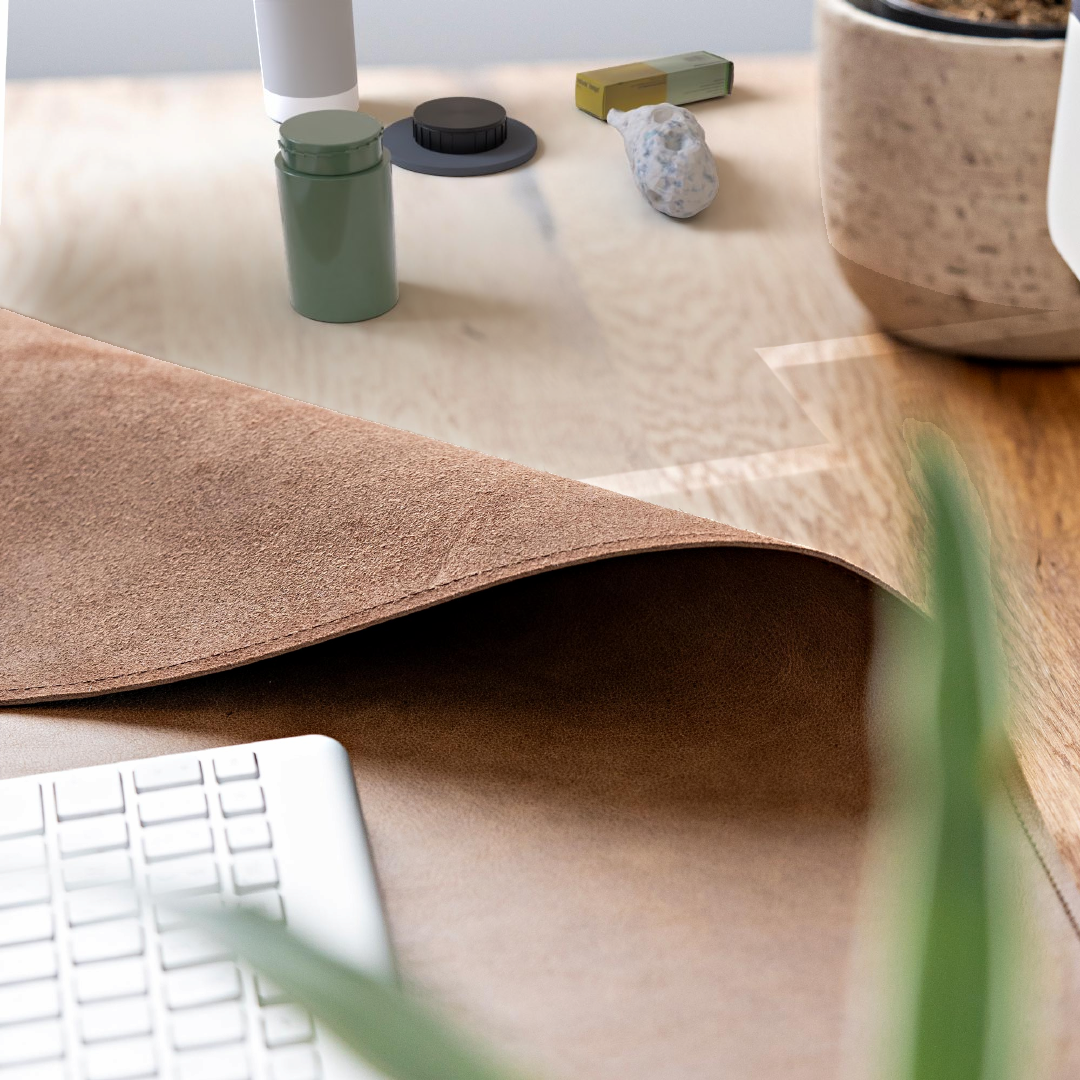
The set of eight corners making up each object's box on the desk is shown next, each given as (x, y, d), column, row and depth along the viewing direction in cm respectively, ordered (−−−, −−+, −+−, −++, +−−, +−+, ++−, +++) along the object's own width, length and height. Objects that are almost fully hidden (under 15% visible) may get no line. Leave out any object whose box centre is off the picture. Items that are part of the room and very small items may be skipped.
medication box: (732, 97, 99) (701, 82, 101) (736, 61, 97) (704, 47, 100) (601, 123, 94) (572, 106, 96) (603, 85, 92) (573, 70, 95)
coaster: (394, 182, 84) (393, 173, 84) (367, 125, 93) (367, 116, 92) (555, 168, 87) (555, 159, 86) (515, 113, 95) (515, 105, 95)
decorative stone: (750, 223, 80) (760, 143, 77) (646, 230, 79) (652, 150, 76) (688, 146, 90) (695, 73, 87) (596, 152, 89) (599, 78, 86)
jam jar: (296, 328, 68) (277, 152, 63) (284, 279, 73) (265, 111, 67) (408, 316, 70) (398, 142, 64) (389, 268, 74) (378, 102, 68)
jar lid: (494, 118, 93) (494, 93, 91) (516, 150, 88) (517, 124, 86) (405, 125, 91) (404, 99, 90) (423, 158, 86) (422, 132, 85)
